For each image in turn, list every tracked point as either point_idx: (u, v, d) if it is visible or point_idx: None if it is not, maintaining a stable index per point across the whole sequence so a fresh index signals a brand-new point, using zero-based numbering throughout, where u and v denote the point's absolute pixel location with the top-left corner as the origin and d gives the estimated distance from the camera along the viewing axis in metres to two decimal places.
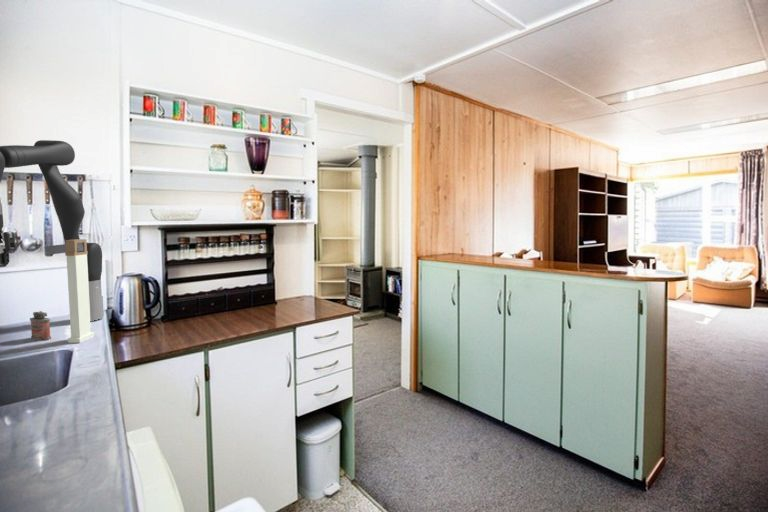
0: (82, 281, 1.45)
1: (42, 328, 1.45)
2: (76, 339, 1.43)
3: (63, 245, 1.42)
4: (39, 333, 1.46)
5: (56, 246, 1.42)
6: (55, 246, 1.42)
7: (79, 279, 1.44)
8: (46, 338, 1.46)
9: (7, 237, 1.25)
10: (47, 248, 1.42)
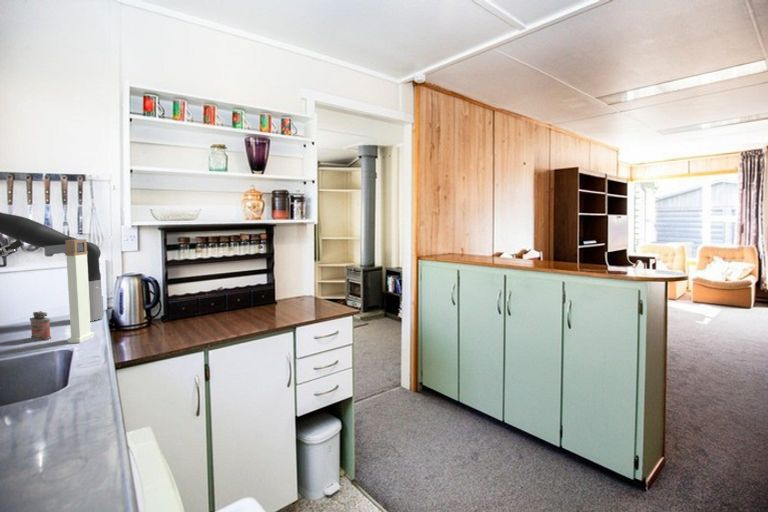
0: (82, 281, 1.45)
1: (42, 328, 1.45)
2: (76, 339, 1.43)
3: (63, 245, 1.42)
4: (39, 333, 1.46)
5: (56, 246, 1.42)
6: (55, 246, 1.42)
7: (79, 279, 1.44)
8: (46, 338, 1.46)
9: None
10: (47, 248, 1.42)
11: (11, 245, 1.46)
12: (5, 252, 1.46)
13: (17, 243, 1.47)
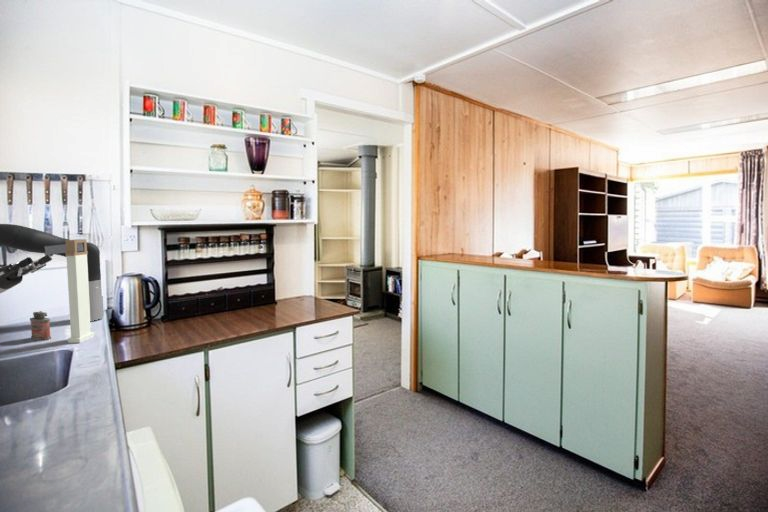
0: (82, 281, 1.45)
1: (42, 328, 1.45)
2: (76, 339, 1.43)
3: (63, 245, 1.42)
4: (39, 333, 1.46)
5: (56, 246, 1.42)
6: (55, 246, 1.42)
7: (79, 279, 1.44)
8: (46, 338, 1.46)
9: (4, 275, 1.37)
10: (47, 248, 1.42)
11: (40, 260, 1.48)
12: (34, 267, 1.47)
13: (46, 258, 1.48)
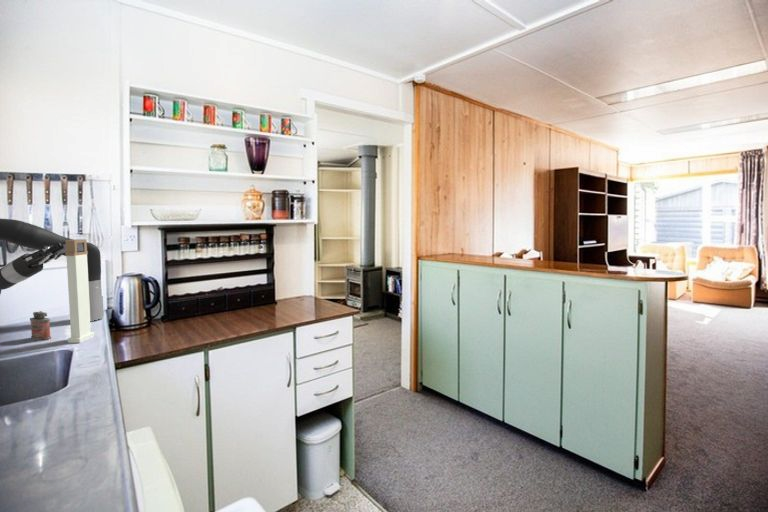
0: (82, 281, 1.45)
1: (42, 328, 1.45)
2: (76, 339, 1.43)
3: (63, 245, 1.42)
4: (39, 333, 1.46)
5: None
6: None
7: (79, 279, 1.44)
8: (46, 338, 1.46)
9: (33, 260, 1.38)
10: None
11: None
12: (53, 256, 1.45)
13: None
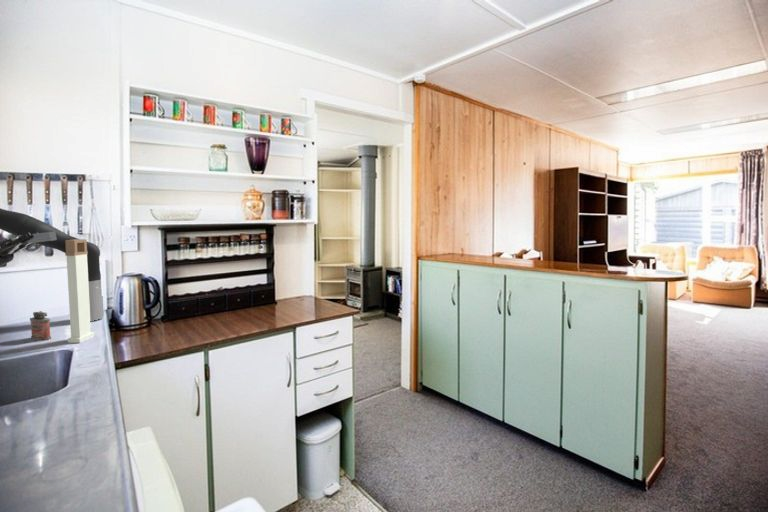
0: (82, 281, 1.45)
1: (42, 328, 1.45)
2: (76, 339, 1.43)
3: (35, 234, 1.41)
4: (39, 333, 1.46)
5: None
6: None
7: (79, 279, 1.44)
8: (46, 338, 1.46)
9: (1, 250, 1.37)
10: None
11: None
12: (23, 245, 1.44)
13: None
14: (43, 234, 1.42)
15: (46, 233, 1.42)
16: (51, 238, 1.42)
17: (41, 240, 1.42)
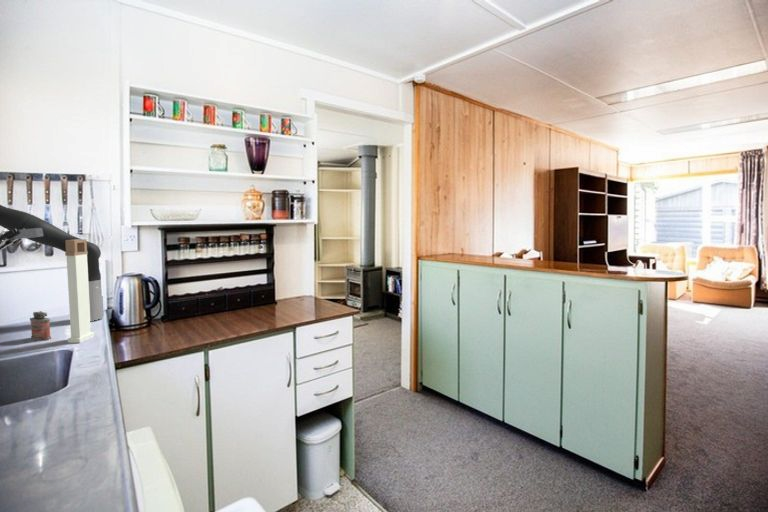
0: (82, 281, 1.45)
1: (42, 328, 1.45)
2: (76, 339, 1.43)
3: (22, 230, 1.41)
4: (39, 333, 1.46)
5: None
6: None
7: (79, 279, 1.44)
8: (46, 338, 1.46)
9: None
10: None
11: None
12: (9, 241, 1.44)
13: None
14: (29, 230, 1.41)
15: (32, 229, 1.41)
16: (37, 234, 1.42)
17: (27, 236, 1.41)
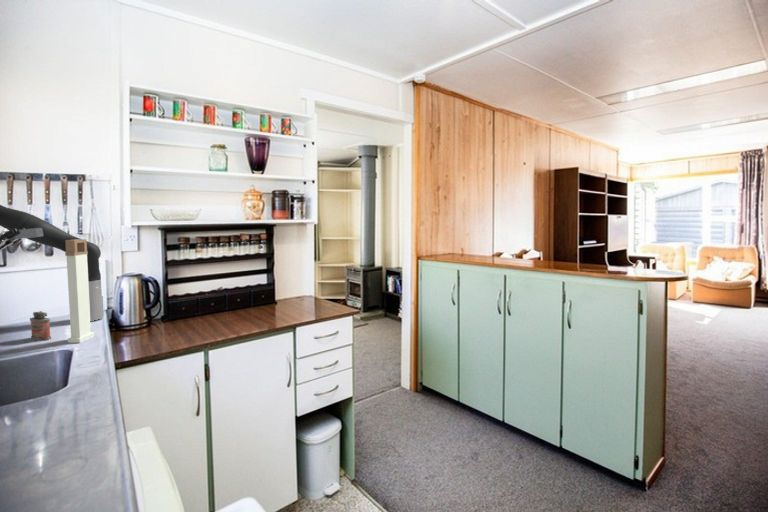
0: (82, 281, 1.45)
1: (42, 328, 1.45)
2: (76, 339, 1.43)
3: (22, 230, 1.41)
4: (39, 333, 1.46)
5: None
6: None
7: (79, 279, 1.44)
8: (46, 338, 1.46)
9: None
10: None
11: None
12: (9, 241, 1.44)
13: None
14: (29, 230, 1.41)
15: (32, 229, 1.41)
16: (37, 234, 1.42)
17: (27, 236, 1.41)
